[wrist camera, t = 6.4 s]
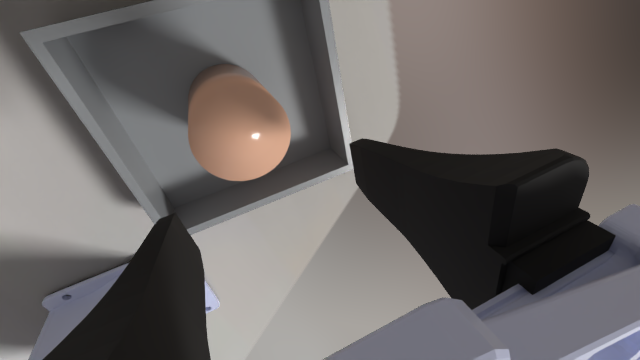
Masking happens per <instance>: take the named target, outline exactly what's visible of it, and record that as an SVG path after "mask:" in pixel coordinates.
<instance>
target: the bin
mask: <svg viewBox="0 0 640 360" xmlns="http://www.w3.org/2000/svg"><path fill="white" fill-rule="evenodd" d="M19 33H20V35H21V36H22V37H23V39H24V40H25V42H26V43H27V45H28V46H29V47H30V49H31V50H32V52H33V53H34V54H35V56H36V57H37V59H38V60H39V62H40V63H41V64H42V66H43V67H44V69H45V70H46V71H47V73H48V74H49V76H50V77H51V79H52V80H53V81H54V83H55V84H56V86H57V87H58V88H59V90H60V91H61V93H62V94H63V96H64V97H65V98H66V100H67V101H68V103H69V104H70V105H71V107H72V108H73V110H74V111H75V113H76V114H77V115H78V117H79V118H80V120H81V121H82V122H83V124H84V125H85V127H86V128H87V130H88V131H89V132H90V134H91V135H92V137H93V138H94V139H95V141H96V142H97V144H98V145H99V147H100V148H101V149H102V151H103V152H104V154H105V155H106V156H107V158H108V159H109V161H110V162H111V164H112V165H113V166H114V168H115V169H116V171H117V172H118V173H119V175H120V176H121V178H122V179H123V181H124V182H125V183H126V185H127V186H128V188H129V189H130V190H131V192H132V193H133V195H134V196H135V198H136V199H137V200H138V202H139V203H140V205H141V206H142V207H143V209H144V210H145V212H146V213H147V215H148V216H149V217H150V219H151V220H152V222H153V223H154V224H155V223H156V222H157V221H158V220H159V219H160V218H163V217H165V216H168V215H170V214H173V213H176V214H177V216H178V217H179V219H180V220H181V222H182V223H183V225H184V226H185V228H186V229H187V231H188V233H189V234H190V235H192V234H194V233H197V232H199V231H202V230H204V229H207V228H209V227H212V226H214V225H217V224H219V223H222V222H224V221H227V220H229V219H231V218H234V217H236V216H239V215H241V214H244V213H246V212H249V211H251V210H254V209H256V208H259V207H261V206H264V205H266V204H269V203H271V202H273V201H276V200H278V199H281V198H283V197H286V196H288V195H291V194H293V193H296V192H298V191H301V190H303V189H306V188H308V187H311V186H313V185H316V184H318V183H320V182H323V181H325V180H328V179H330V178H333V177H335V176H338V175H340V174H343V173H345V172H348V171H350V170H353V169H354V168H353V162H352V157H351V151H350V146H349V144H350V143H352V142H351V136H350V129H349V123H348V117H347V111H346V105H345V99H344V92H343V86H342V80H341V74H340V68H339V62H338V55H337V49H336V43H335V37H334V31H333V25H332V18H331V12H330V6H329V0H152V1H148V2H144V3H140V4H136V5H132V6H127V7H123V8H119V9H115V10H111V11H106V12H102V13H98V14H94V15H90V16H86V17H81V18H77V19H73V20H69V21H65V22H60V23H56V24H52V25H48V26H44V27H40V28H35V29H31V30H27V31H23V32H19ZM218 64H231V65H236V66H239V67H241V68H243V69H245V70H247V71H248V72H250V73H251V74H252V75H253V76H254V77H255V78H256V79H257V80H258V81H259V82H260V83H261V84H262V85H263V86H264V88H265V89H266V90H267V91H268V92H269V93H270V94H271V95H272V96H273V97H274V98H275V99H276V100H277V101H278V102H279V103H280V105H281V106H282V107H283V109H284V110H285V112H286V114H287V117H288V119H289V123H290V129H291V138H290V144H289V147H288V150H287V152H286V154H285V156H284V157H283V159H282V160H281V162H280V163H279V164H278V165H277V166H276V167H275V168H274V169H273V170H271V171H270V172H268V173H267V174H265V175H263V176H261V177H259V178H256V179H252V180H247V181H231V180H226V179H222V178H219V177H217V176H215V175H213V174H211V173H210V172H208V171H207V170H205V169H204V168H203V167H202V166H201V165H200V164H199V163H198V161H197V160H196V159H195V157H194V155H193V153H192V151H191V148H190V145H189V140H188V94H189V89H190V86H191V84H192V82H193V80H194V79H195V78H196V76H197V75H198V74H199V73H201V72H202V71H203V70H205V69H206V68H208V67H211V66H214V65H218Z"/></svg>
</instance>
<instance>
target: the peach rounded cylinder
mask: <svg viewBox="0 0 640 360" xmlns="http://www.w3.org/2000/svg"><path fill="white" fill-rule="evenodd" d="M290 138H291V129H290V123H289V119H288V117H287V114H286V112H285V110H284V109H283V107H282V106H281V105H280V103H279V102H278V101H277V100H276V99H275V98H274V97H273V96H272V95H271V94H270V93H269V92H268V91H267V90H266V89H265V88H264V86H263V85H262V84H261V83H260V82H259V81H258V80H257V79H256V78H255V77H254V76H253V75H252V74H251V73H250V72H248V71H247V70H245V69H243V68H241V67H239V66H236V65H231V64H218V65H214V66H211V67H208V68H206V69H205V70H203V71H202V72H201V73H199V74H198V75H197V76H196V78H195V79H194V80H193V82H192V84H191V86H190V89H189V94H188V140H189V145H190V148H191V151H192V153H193V155H194V157H195V159H196V160H197V161H198V163H199V164H200V165H201V166H202V167H203V168H204V169H205V170H207V171H208V172H210V173H211V174H213V175H215V176H217V177H219V178H222V179H226V180H231V181H247V180H252V179H256V178H259V177H261V176H263V175H265V174H267V173H268V172H270V171H271V170H273V169H274V168H275V167H276V166H277V165H278V164H279V163H280V162H281V160H282V159H283V157H284V156H285V154H286V152H287V150H288V147H289V144H290Z"/></svg>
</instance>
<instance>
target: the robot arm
mask: <svg viewBox="0 0 640 360" xmlns="http://www.w3.org/2000/svg"><path fill="white" fill-rule="evenodd" d="M349 146H350V151H351V157H352V162H353V168H354V173H355V179H356V184H357V185H358V186H359V188H360V189H361V190H362V192H363V193H364V195H365V196H366V197H367V198H368V200H369V201H370V202H371V203H372V204H373V205H374V206H375V207H376V208H377V209H378V210H379V211H380V212H381V213H382V214H383V215H384V216H385V217H386V218H387V219H388V220H389V221H390V222H391V223H392V224H393V225H394V226H395V227H396V228H397V229H398V230H399V231H400V232H401V233H402V234H403V235H404V236H405V237H406V239H407V240H408V241H409V242H410V243H411V245H412V246H413V247H414V248H415V250H416V251H417V252H418V253H419V255H420V256H421V257H422V258H423V260H424V261H425V262H426V264H427V265H428V266H429V268H430V269H431V270H432V272H433V273H434V274H435V275H436V277H437V278H438V280H439V281H440V283H441V284H442V285H443V287H444V288H445V290H446V291H447V292H448V294H449V295H450V297H451V298H440V299H437V300H434V301H432V302H429V303H426V304H423V305H421V306H420V307H418V308H416V309H414V310H412V311H410V312H409V313H407V314H405V315H403V316H401V317H399V318H398V319H396V320H394V321H392V322H390V323H389V324H387V325H385V326H383V327H381V328H379V329H378V330H376V331H374V332H372V333H370V334H368V335H367V336H365V337H363V338H361V339H359V340H357V341H356V342H354V343H352V344H350V345H348V346H347V347H345V348H343V349H341V350H339V351H337V352H335V353H334V354H332V355H330V356H328V357H326V358H324V359H323V360H640V206H638V205H635V204H632V205H628V206H626V207H625V208H623V209H621V210H619V211H617V212H616V213H614V214H612V215H610V216H609V217H607V218H606V219H604V220H603V221H602V222H601V223H600V225H599V226H597V225H595V224H593V223H591V222H590V221H587V220H588V219H589V218H590V214H589V213H588V212H586V211H584V210H582V209H580V208H578V206H579V204H580V201H581V198H582V196H583V193H584V190H585V187H586V184H587V181H588V177H589V167H588V164H587V163H586V161H585V160H584V159H583V158H581V157H578V156H575V155H573V154H570V153H568V152H565V151H563V150H559V149H549V150H540V151H532V152H523V153H510V154H492V155H491V154H490V155H465V154H448V153H437V152H429V151H423V150H416V149H411V148H406V147H401V146H396V145H391V144H387V143H383V142H378V141H374V140H369V139H360V140H357V141H355V142H352V143H350V144H349ZM66 295H70V296H66ZM219 305H220V302H219V300H218V298H217V297H216V295H215V294H214V292H213V291H212V289H211V288H210V286H209V285H208V283H207V282H206V280H205V278H204V269H203V263H202V258H201V253H200V250H199V248H198V246H197V245H196V243H195V242H194V240H193V239H192V237H191V236H190V234H189V233H188V231H187V229H186V228H185V226H184V225H183V223H182V222H181V220H180V219H179V217H178V216H177V214H176V213H173V214H170V215H168V216H165V217H163V218H160V219H159V220H158V221H157V222H156V223H155V225H154V226H153V228H152V229H151V231H150V232H149V234H148V235H147V237H146V239H145V240H144V242H143V243H142V245H141V246H140V248H139V249H138V251H137V252H136V254H135V255H134V257H133V258H132V260H131V261H130V262H129V263H127V264H124V265H122V266H119V267H117V268H114V269H112V270H109V271H107V272H105V273H102V274H100V275H97V276H95V277H92V278H90V279H87V280H85V281H82V282H80V283H77V284H75V285H73V286H70V287H68V288H65V289H63V290H60V291H58V292H55V293H53V294H50V295H48V296H46V297H45V298H44V299H43V301H42V306H43V307H44V308H46V309H47V310H48V311H49V314H48V317H47V319H46V321H45V323H44V326H43V328H42V330H41V332H40V335H39V337H38V339H37V341H36V343H35V346H34V348H33V350H32V352H31V355H30V357H29V359H28V360H210V353H209V347H208V340H207V329H206V313H208V312H211V311H213V310H215V309H217V308H218V307H219Z"/></svg>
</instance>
